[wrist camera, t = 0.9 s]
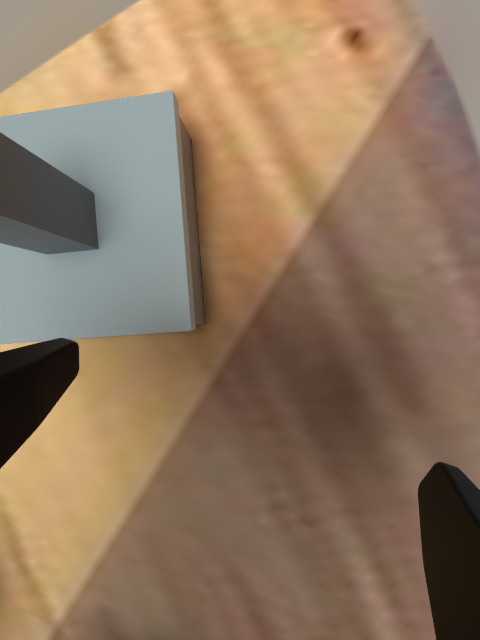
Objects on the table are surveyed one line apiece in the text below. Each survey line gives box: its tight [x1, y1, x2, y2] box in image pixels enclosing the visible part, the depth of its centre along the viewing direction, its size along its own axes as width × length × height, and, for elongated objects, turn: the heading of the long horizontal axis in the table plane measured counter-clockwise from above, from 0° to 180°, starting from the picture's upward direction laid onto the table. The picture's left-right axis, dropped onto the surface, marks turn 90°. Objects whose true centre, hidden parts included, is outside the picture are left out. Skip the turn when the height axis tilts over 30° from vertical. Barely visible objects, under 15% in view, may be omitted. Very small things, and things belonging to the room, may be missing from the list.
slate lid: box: [0, 91, 196, 344], centre depth 14 cm, size 12×12×11 cm
